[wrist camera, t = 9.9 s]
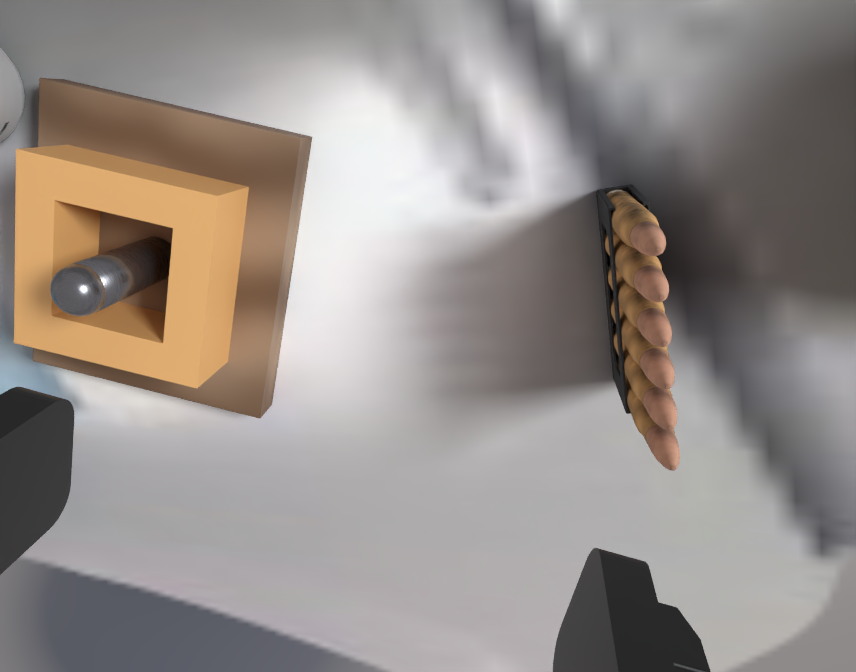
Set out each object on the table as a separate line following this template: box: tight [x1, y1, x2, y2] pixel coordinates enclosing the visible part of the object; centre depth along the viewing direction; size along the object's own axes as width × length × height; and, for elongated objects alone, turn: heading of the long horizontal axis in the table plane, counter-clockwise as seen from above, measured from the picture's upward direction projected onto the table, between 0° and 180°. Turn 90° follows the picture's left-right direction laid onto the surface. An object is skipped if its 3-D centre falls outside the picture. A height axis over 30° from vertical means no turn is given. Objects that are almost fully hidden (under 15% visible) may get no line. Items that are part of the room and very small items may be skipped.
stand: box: [33, 78, 312, 418], centre depth 35 cm, size 16×14×10 cm
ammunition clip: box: [596, 185, 680, 470], centre depth 32 cm, size 11×2×12 cm, turn 9°
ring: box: [14, 145, 249, 388], centre depth 36 cm, size 10×10×4 cm
